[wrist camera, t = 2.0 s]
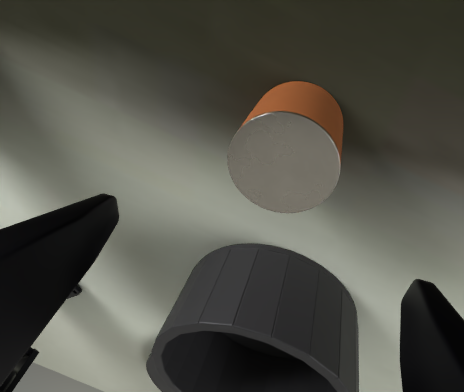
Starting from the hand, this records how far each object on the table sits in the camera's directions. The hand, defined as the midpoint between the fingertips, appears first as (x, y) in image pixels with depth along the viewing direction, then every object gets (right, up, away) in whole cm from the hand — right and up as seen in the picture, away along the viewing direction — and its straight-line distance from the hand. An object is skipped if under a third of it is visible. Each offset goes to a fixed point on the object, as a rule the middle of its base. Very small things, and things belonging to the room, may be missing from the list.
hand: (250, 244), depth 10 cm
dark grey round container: (+2, -7, +16) cm, 17 cm away
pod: (+3, +5, +7) cm, 9 cm away
